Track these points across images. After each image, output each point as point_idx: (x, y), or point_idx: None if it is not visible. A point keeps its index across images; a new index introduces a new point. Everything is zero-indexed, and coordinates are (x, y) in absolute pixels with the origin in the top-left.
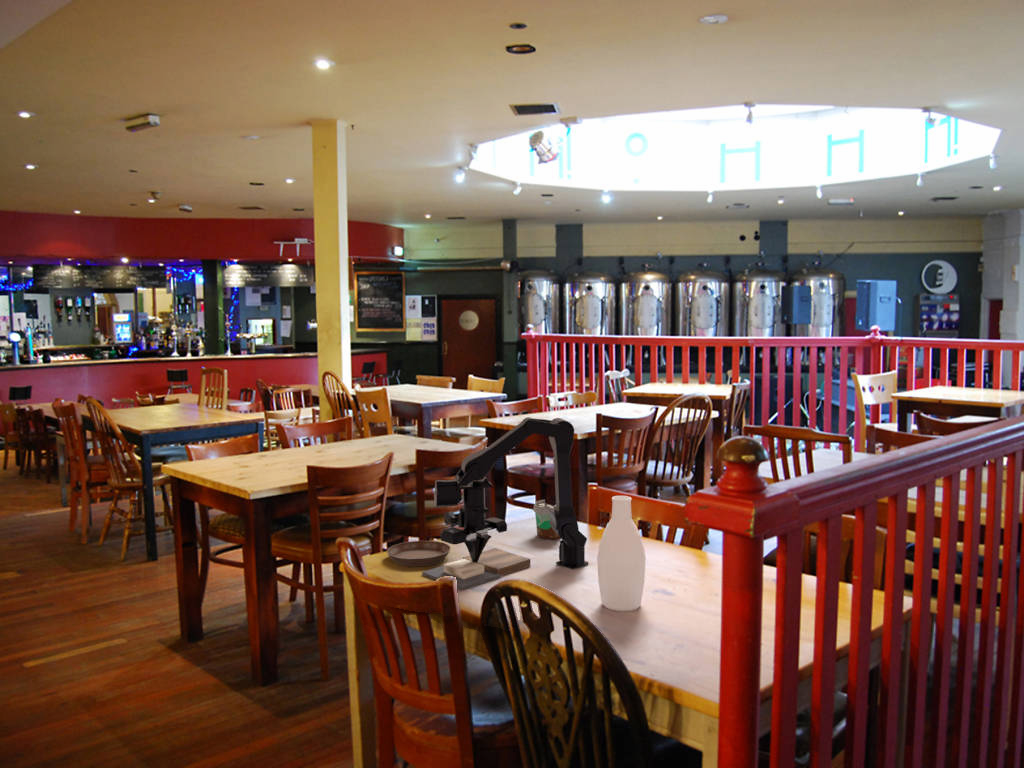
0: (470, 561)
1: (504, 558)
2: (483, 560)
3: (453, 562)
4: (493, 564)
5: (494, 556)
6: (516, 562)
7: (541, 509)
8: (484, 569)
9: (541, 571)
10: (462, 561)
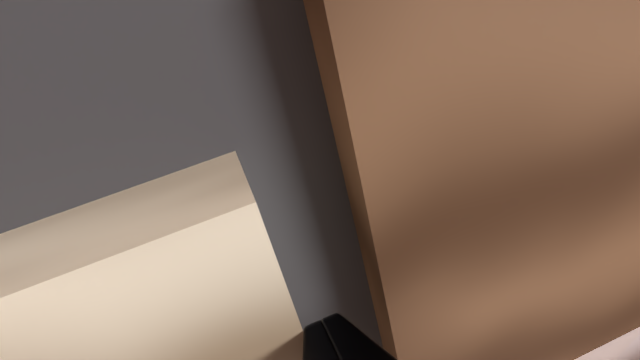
0: (280, 329)
1: (632, 224)
2: (464, 217)
3: (5, 320)
4: (459, 343)
5: (628, 131)
6: (607, 334)
7: None
8: (368, 310)
9: (621, 344)
10: (174, 311)
